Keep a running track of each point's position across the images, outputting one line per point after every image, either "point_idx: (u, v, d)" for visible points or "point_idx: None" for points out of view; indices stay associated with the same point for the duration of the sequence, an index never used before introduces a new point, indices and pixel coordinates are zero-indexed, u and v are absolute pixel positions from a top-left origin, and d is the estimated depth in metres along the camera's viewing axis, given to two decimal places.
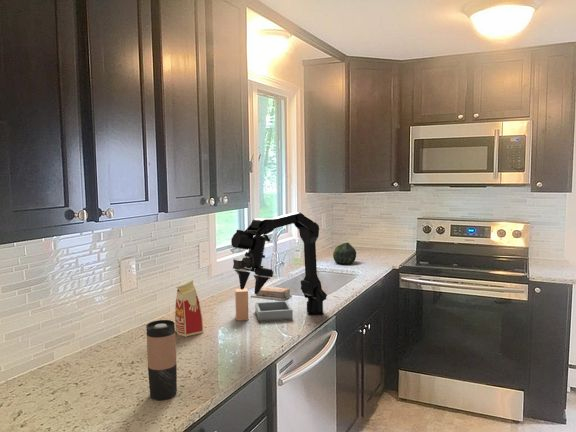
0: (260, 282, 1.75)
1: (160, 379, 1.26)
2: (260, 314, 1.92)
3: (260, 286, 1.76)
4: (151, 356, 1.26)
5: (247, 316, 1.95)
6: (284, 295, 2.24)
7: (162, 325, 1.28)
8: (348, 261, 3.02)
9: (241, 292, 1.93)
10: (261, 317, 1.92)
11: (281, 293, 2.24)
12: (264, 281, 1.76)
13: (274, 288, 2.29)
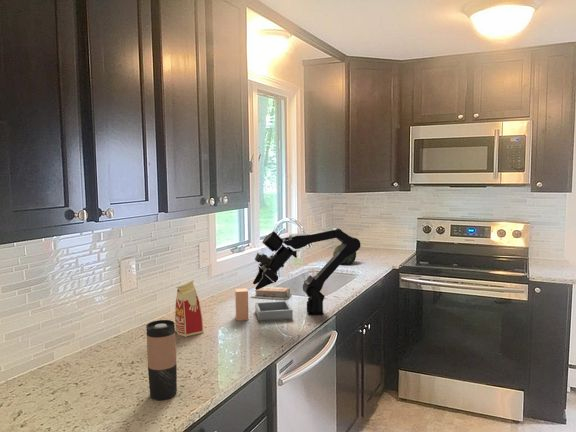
0: (264, 281, 1.91)
1: (160, 379, 1.26)
2: (260, 314, 1.92)
3: (262, 285, 1.91)
4: (151, 356, 1.26)
5: (247, 316, 1.95)
6: (286, 294, 2.25)
7: (162, 325, 1.28)
8: (348, 261, 3.02)
9: (241, 292, 1.93)
10: (261, 317, 1.92)
11: (283, 292, 2.25)
12: (268, 283, 1.91)
13: (274, 288, 2.30)
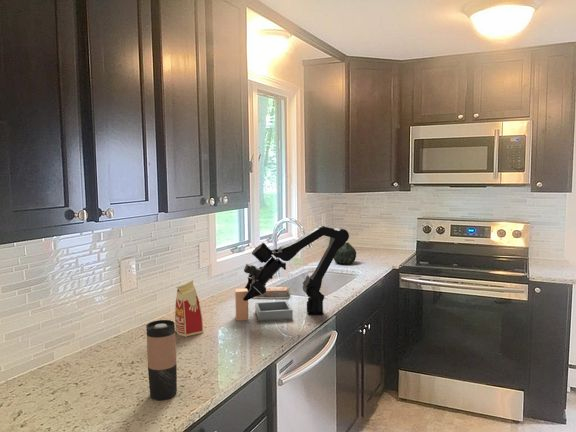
0: (252, 293, 1.91)
1: (160, 379, 1.26)
2: (260, 314, 1.92)
3: (250, 296, 1.91)
4: (151, 356, 1.26)
5: (247, 316, 1.95)
6: (288, 293, 2.27)
7: (162, 325, 1.28)
8: (348, 261, 3.02)
9: (241, 292, 1.93)
10: (261, 317, 1.92)
11: (285, 292, 2.27)
12: (256, 294, 1.91)
13: (274, 288, 2.30)
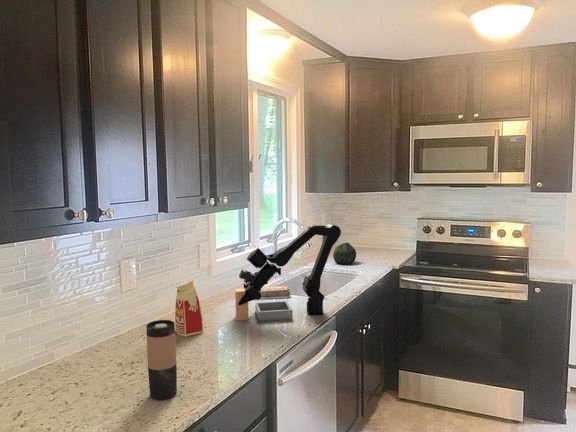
0: (247, 297, 1.93)
1: (160, 379, 1.26)
2: (260, 314, 1.92)
3: (245, 300, 1.93)
4: (151, 356, 1.26)
5: (247, 316, 1.95)
6: (289, 292, 2.29)
7: (162, 325, 1.28)
8: (348, 261, 3.02)
9: (241, 292, 1.93)
10: (261, 317, 1.92)
11: (286, 291, 2.28)
12: (250, 299, 1.92)
13: (274, 287, 2.31)
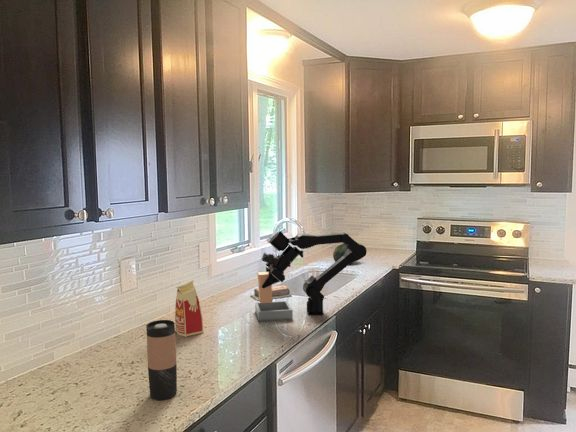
0: (270, 280, 1.94)
1: (160, 379, 1.26)
2: (260, 314, 1.92)
3: (269, 283, 1.94)
4: (151, 356, 1.26)
5: (271, 299, 1.96)
6: (288, 291, 2.32)
7: (162, 325, 1.28)
8: None
9: (264, 275, 1.95)
10: (261, 317, 1.92)
11: (287, 290, 2.30)
12: (274, 281, 1.94)
13: (274, 287, 2.31)
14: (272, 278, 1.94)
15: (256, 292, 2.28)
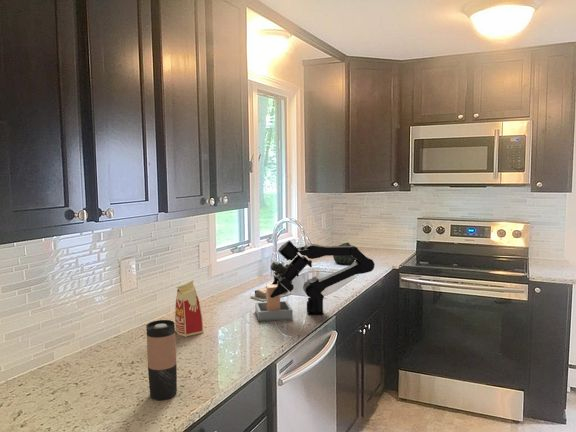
0: (279, 290, 1.94)
1: (160, 379, 1.26)
2: (260, 314, 1.92)
3: (277, 293, 1.94)
4: (151, 356, 1.26)
5: None
6: None
7: (162, 325, 1.28)
8: (348, 261, 3.02)
9: (273, 288, 1.96)
10: (261, 317, 1.92)
11: None
12: (283, 291, 1.94)
13: None
14: (281, 288, 1.94)
15: (258, 293, 2.26)
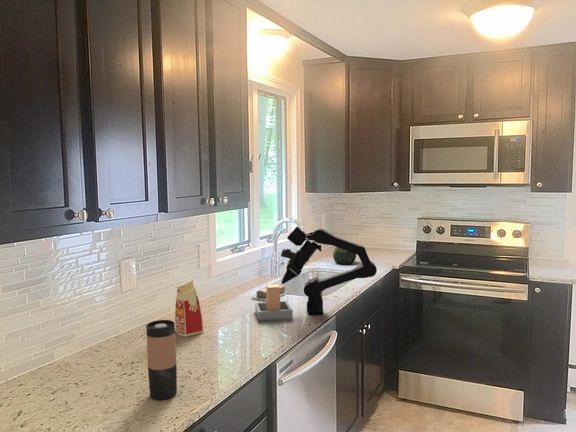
0: (289, 275, 1.95)
1: (160, 379, 1.26)
2: (260, 314, 1.92)
3: (287, 278, 1.95)
4: (151, 356, 1.26)
5: None
6: (284, 289, 2.36)
7: (162, 325, 1.28)
8: (348, 261, 3.02)
9: (273, 288, 1.96)
10: (261, 317, 1.92)
11: (284, 287, 2.35)
12: (292, 276, 1.94)
13: None
14: (290, 273, 1.95)
15: (260, 294, 2.25)
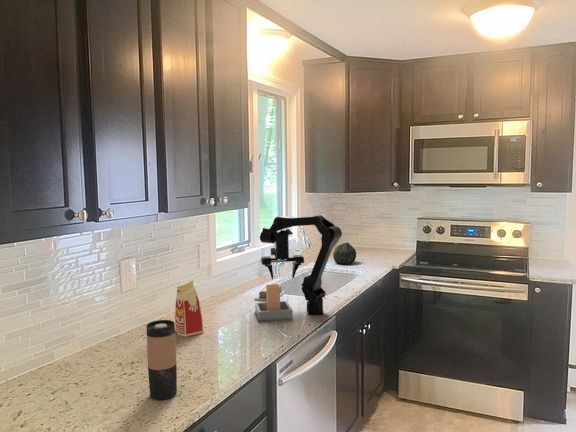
0: None
1: (160, 379, 1.26)
2: (260, 314, 1.92)
3: (270, 273, 2.09)
4: (151, 356, 1.26)
5: None
6: None
7: (162, 325, 1.28)
8: (348, 261, 3.02)
9: (273, 288, 1.96)
10: (261, 317, 1.92)
11: (281, 287, 2.36)
12: (269, 268, 2.07)
13: None
14: None
15: (264, 294, 2.24)
